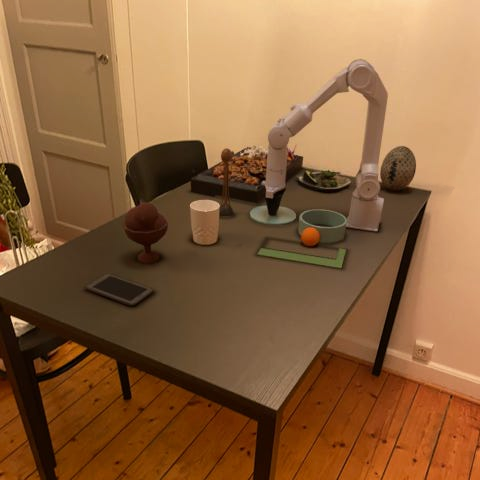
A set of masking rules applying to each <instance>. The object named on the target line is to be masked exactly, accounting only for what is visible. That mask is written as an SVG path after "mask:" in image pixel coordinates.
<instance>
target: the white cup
mask: <svg viewBox="0 0 480 480" xmlns="http://www.w3.org/2000/svg"><path fill="white" fill-rule="evenodd" d="M220 206H221V204H220V203H219V202H217V201H216V200H212V199H211V200H210V199H199V200H195V201H192V202H191V203H190V204H189V210H190V211H189V212H190V223H191V224H190V225H191V231H192V240H193V242H194V243H196V245H197V244H198V245H202V246H208V245H213V244H215V243H217V241H218V237H219V225H220V215H219V210H220Z"/></svg>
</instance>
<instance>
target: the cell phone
mask: <svg viewBox="0 0 480 480" xmlns="http://www.w3.org/2000/svg"><path fill="white" fill-rule="evenodd" d="M85 288H86V290H87V291H89V292H92V293H94V294H97V295H99V296H103V297H105V298H108V299H109V300H112V301H116V302H118V303H121V304H124V305H127V306H129V307H134V306H136V305H137V304H139V303H140V302H141V301H143V300H145V299H146V298H148V297H149V296H150V295H152V294H153V289H152V288H150V287H147V286H145V285H142V284H139V283H136V282H133V281H131V280H128V279H124V278H122V277H119V276H117V275H113V274H110V273H106V274H104V275H102V276H100V277H99V278H97V279H96V280H94V281H92V282H90V283H89V284H87V285H86V287H85Z"/></svg>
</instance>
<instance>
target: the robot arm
mask: <svg viewBox="0 0 480 480" xmlns="http://www.w3.org/2000/svg"><path fill="white" fill-rule="evenodd" d="M349 88H350V89H351V90H352V91H355V92H356V93H359V94H361V95H362V97H364V98H365V100H366V101H367V109H366V110H367V111H366V117H365V118H366V119H365V126H364V135H363V143H362V153H361V160H360V164H359V169H358V171H357V173H356V175H355V176H354V183H355V185H356V188H355V189H354V191H352V195H351V201H350V205H349V206H350V207H349V212H348V216H347V217H346V219H347V225H346V228H347V229H348V228H349V229H354V230H355V229H356V230H361V231H369V232H378V230H379V227H380V224H381V222H382V212H383V207H384V201H385V198H384V197H380V196H379V193H380V190H381V184H380V182H379V164H380V163H379V162H380V155H381V148H382V142H383V141H382V140H383V133H384V126H385V120H386V113H387V106H388V97H389V95H388V91H387V89H386V87H385V84H384V82H383V81H382V79H381V77H380V74H379V73H378V72H377V70H376V69H375V68H374V66H372V65H371V63H369V62H368V61H367V60H366V59H363V58H357V59H354V60H353V61H351V62H350V63H349V65H348V66H345V67H344V68H342V69H340V71H338V72H337V73H336V74H335V75H334V76H332V77H331V79H329V80H328V81H327V82H326V83H325V84H324V85H323V86H322V87H321V88H320V89H319V90H318V91H317V92H316V93H315V94H313V96H312V97H310V99H308V101H306V102H305V103H303V102H298V103H297V104H293V105H291V106H290V110H289V111H288V112H287V113H286V114H285V115H284V116H283V117H280V118H278V119H277V122H276V123H274V124H273V125H272V126H271V127H270V129H269V132H268V135H267V142H268V145H267V150H268V153H267V169H266V181H263V182H262V185H265V188H266V191H264V192H263V196H264V198H263V199H264V201H265V203H266V205H267V209H268V214H269V215H273V216H275V215H276V212H278V209H279V206H281V201H282V200H283V199H282V198H283V196H284V194H285V192H286V191H287V187H286V186H287V185H286V182H285V178H286V166H287V154H288V153H287V147H288V144H289V142H290V138H293V137H295V136H296V135H298V133H300V132H301V131H302V130H303V129H304V128H305V127H306V126H307V125H309V124H310V123H311V122H312V121H313V115H314V113H316V111H318V110H319V109H320V108H321V107H322V106H324V105H325V104H326V103H327V102H328V101H330V100H331V99H332V98H334V97H335V96H336V95H337V94H340V93H341V94H343V93H348V92H350V89H349Z"/></svg>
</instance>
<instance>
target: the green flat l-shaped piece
mask: <svg viewBox="0 0 480 480" xmlns="http://www.w3.org/2000/svg"><path fill="white" fill-rule="evenodd" d="M346 252H347V249H346V248H339V247H338V250H337V254H336V257H335V258H332V257H325V256H320V255H314V254H307V253H300V252H294V251H288V250H282V249H277V248H276V249H275V248H269V247H263V246H262V247H260V249H259V250H258V252H257V254H256V256H261V257H266V258H272V259H278V260H284V261H291V262H296V263H302V264H308V265H314V266H315V265H316V266H321V267H326V268H332V269H333V268H334V269H340V270H341V269H342V268H343V263H344V260H345V256H346Z"/></svg>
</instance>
